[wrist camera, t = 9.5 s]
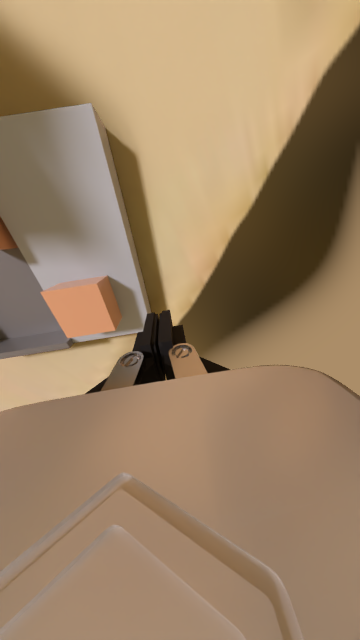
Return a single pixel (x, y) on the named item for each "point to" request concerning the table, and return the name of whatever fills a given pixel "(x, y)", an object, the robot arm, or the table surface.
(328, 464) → the robot arm
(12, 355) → the tray
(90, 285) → the tile
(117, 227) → the grey sliding lid
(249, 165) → the table surface
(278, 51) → the table surface
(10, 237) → the orange block
